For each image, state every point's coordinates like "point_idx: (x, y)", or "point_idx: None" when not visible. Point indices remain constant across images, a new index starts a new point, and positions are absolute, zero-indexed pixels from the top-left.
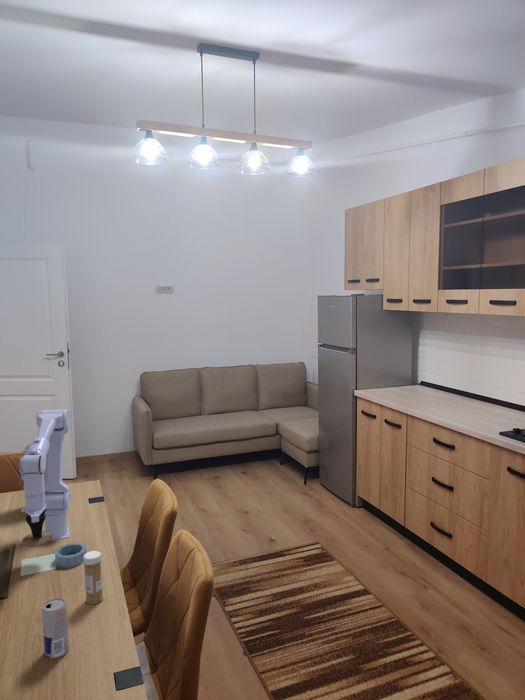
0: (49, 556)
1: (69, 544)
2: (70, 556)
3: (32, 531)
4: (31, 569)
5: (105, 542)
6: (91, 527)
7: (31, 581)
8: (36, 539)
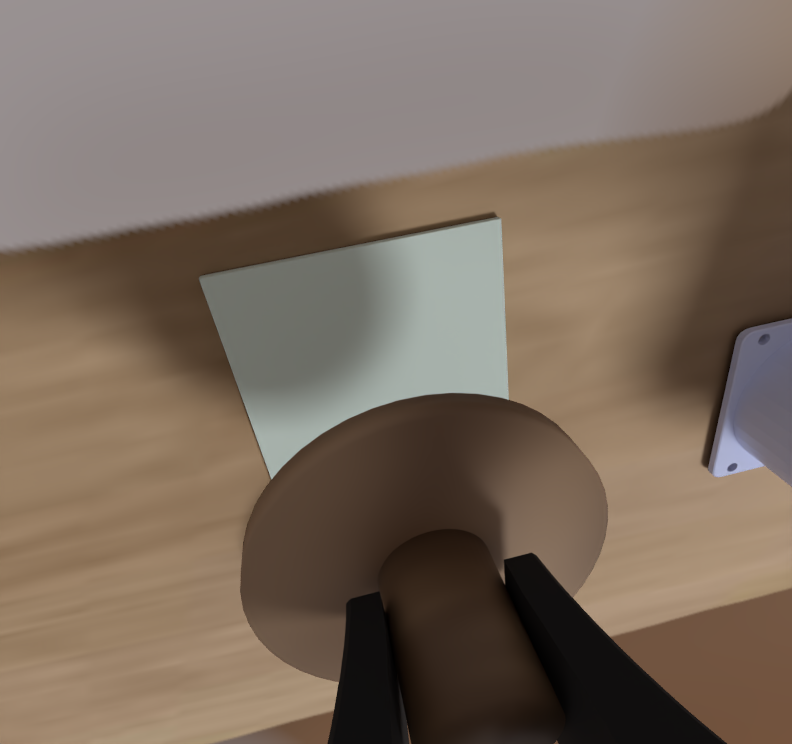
0: None
1: None
2: None
3: (332, 736)
4: (302, 343)
5: None
6: (768, 548)
7: (116, 382)
8: (377, 581)
